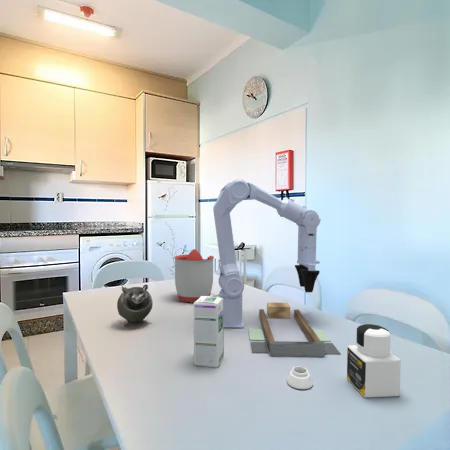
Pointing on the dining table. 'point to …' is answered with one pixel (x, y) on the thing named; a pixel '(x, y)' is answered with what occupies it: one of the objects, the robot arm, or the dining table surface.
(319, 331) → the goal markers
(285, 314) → the oak block
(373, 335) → the medicine bottle
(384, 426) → the dining table surface
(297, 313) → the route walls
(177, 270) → the citrus juicer
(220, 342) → the syrup box
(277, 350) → the trap bay
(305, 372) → the lidless jar
